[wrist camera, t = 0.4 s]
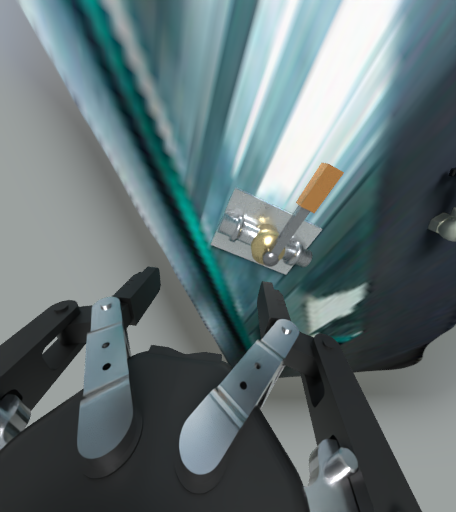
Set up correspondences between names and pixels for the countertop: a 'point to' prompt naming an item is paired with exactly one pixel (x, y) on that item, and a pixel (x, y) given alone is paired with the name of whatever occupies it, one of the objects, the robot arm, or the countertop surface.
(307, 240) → the valve manifold
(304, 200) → the valve lever
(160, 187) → the countertop surface
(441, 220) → the valve
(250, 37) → the countertop surface
